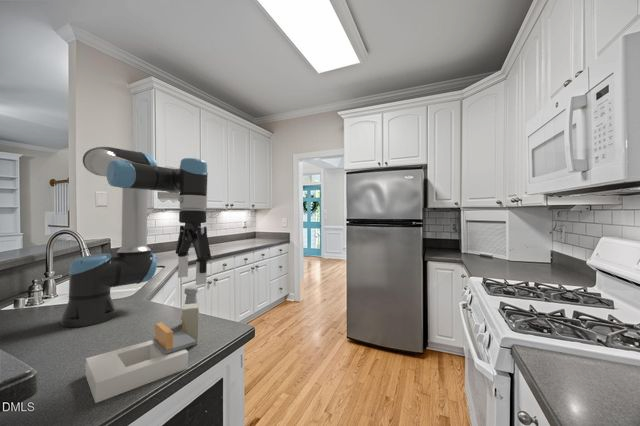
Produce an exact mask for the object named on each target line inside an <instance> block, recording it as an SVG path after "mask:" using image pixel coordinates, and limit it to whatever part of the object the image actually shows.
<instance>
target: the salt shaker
mask: <svg viewBox="0 0 640 426" xmlns="http://www.w3.org/2000/svg"><path fill="white" fill-rule="evenodd" d="M183 292H184V293H183V294H185V295H186V296H185V300H184V304H194V303H198V298H197V294H198V292H199V289H198V287H197V286H196V285H195V286H193V285H191V286H187V287H185V288H184V291H183ZM182 316H183V312H182V313H181V318H180V320H182ZM199 319H200V314H199V315H198V320H199Z"/></svg>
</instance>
